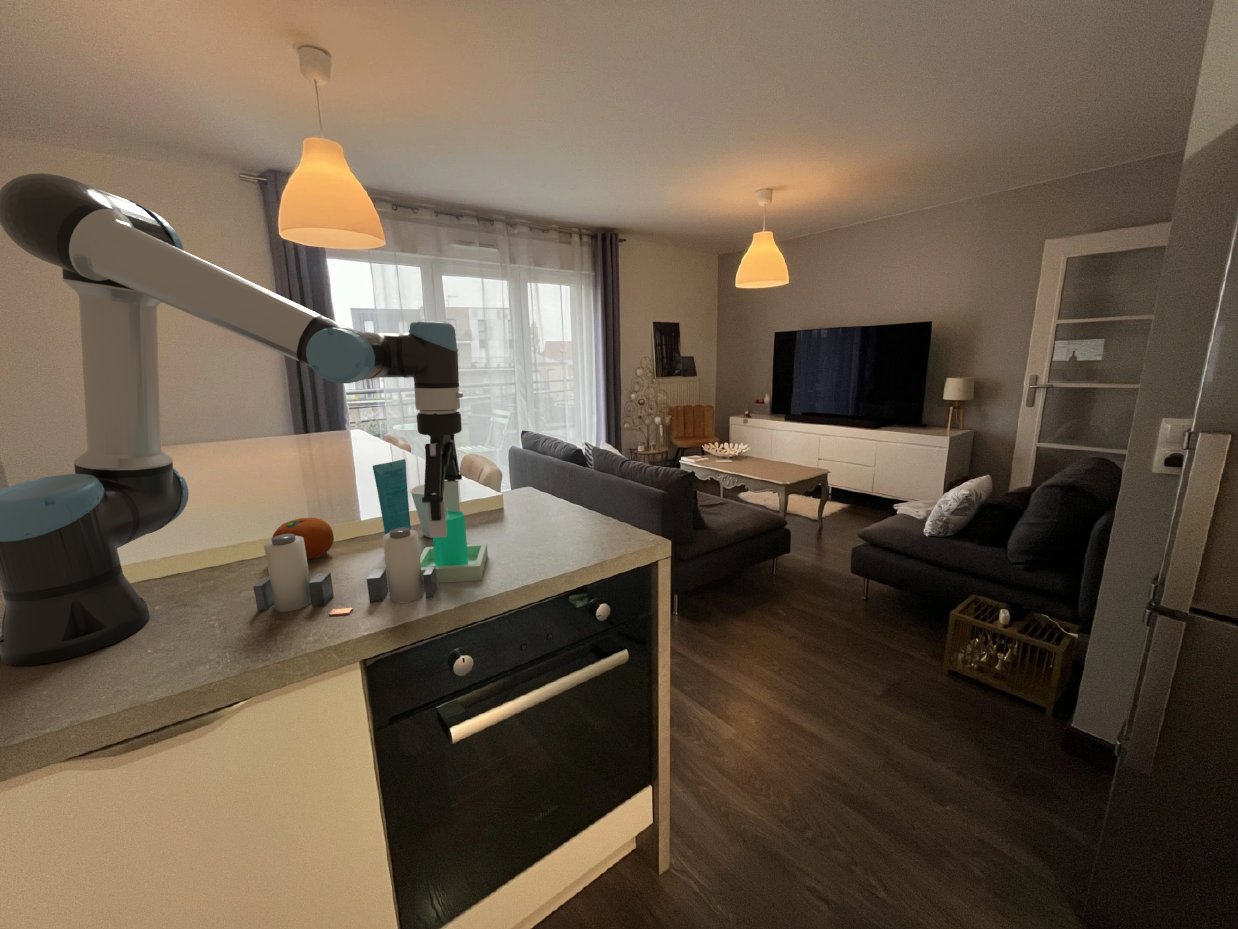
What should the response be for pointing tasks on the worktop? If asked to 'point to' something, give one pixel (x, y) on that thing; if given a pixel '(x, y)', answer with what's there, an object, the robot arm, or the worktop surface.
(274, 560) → the cylinder
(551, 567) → the worktop surface
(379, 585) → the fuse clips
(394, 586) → the fuse right
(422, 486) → the cup
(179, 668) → the worktop surface
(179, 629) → the worktop surface
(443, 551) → the candle
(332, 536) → the fruit
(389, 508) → the tube
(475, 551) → the tray
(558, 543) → the worktop surface
